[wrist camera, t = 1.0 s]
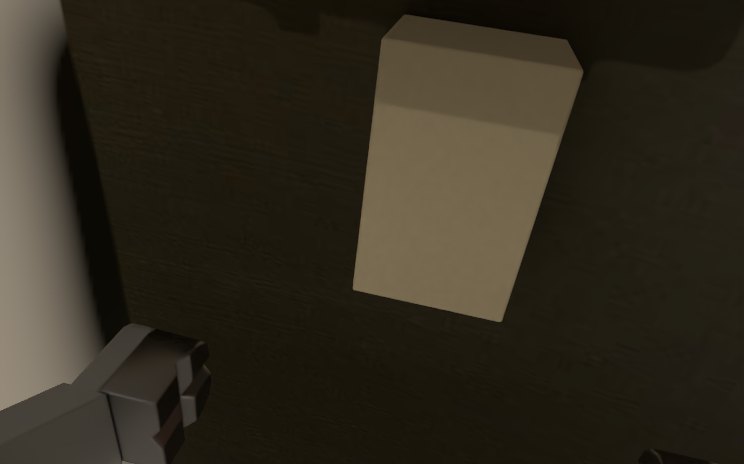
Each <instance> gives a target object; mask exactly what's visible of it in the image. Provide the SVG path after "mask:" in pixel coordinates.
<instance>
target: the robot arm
mask: <svg viewBox="0 0 744 464" xmlns="http://www.w3.org/2000/svg"><path fill="white" fill-rule="evenodd" d="M208 357H209V351H208V343H205V342H203V341H199V340H196V339H192V338H188V337H185V336H181V335H177V334H173V333H170V332H166V331H162V330H158V329H154V328H150V327H146V326H142V325H138V324H134V323H131V324H129V325H127V326H125V327H124V328H123V329H122V330H121V331H120V332H119V333H118V334H117V335H116V336H115V337H114V338H113V339H112V341H111V342H110V343H109V344H108V345H107V346H106V347H105V348H104V349H103V350H102V351H101V352H100V354H99V355H98V356H97V357H96V358H95V359H94V360H93V361H92V362H91V363H90V364H89V366H88V367H87V368H86V369H85V370H84V371H83V372H82V373H81V374H80V375H79V376H78V377H77V379H76V380H75V381H74V382H73V383H72V384H71V385H70V384H66V383H62V384H60V385H58V386H55V387H53V388H51V389H49V390H46V391H44V392H42V393H40V394H37V395H35V396H33V397H31V398H28V399H27V400H24V401H22V402H20V403H17V404H15V405H13V406H10V407H9V408H6V409H4V410H1V411H0V464H122V461H126V462H130V463H135V464H171V462H172V461H173V459H174V457H175V456H176V454H177V452H178V451H179V449H180V447H181V446H182V444H183V442H184V441H185V437H184V429H183V428H184V427H186V426H188V425H190V424H191V423H193V422H195V421H197V419H198V417H199V415H200V414H201V412H202V410H203V409H204V406H205V403H206V401H207V398H208V395H209V392H210V385H211V374H210V371H209V370H208V369H207V368H206V366H205V365H204V363H205V362H206V360H207V359H208ZM638 461H639V464H717V463H710V462H709V461H706V460H701V459H697V458H693V457H688V456H684V455H679V454H675V453H671V452H666V451H662V450H657V449H653V448H650V449H648V450H646V451H644V452H643V454H642V455H641V457H640V458H639V460H638Z"/></svg>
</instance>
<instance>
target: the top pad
mask: <svg viewBox="0 0 744 464" xmlns="http://www.w3.org/2000/svg"><path fill="white" fill-rule="evenodd" d="M582 76H583V69H582V67H581V65H580V64H579V62H578V60H577V58H576V56H575V54H574V52H573V50H572V48H571V47H570V45H569V43H568V41H567V40H565V39H558V38H552V37H546V36H539V35H533V34H527V33H520V32H514V31H507V30H501V29H495V28H488V27H482V26H476V25H469V24H463V23H457V22H450V21H444V20H438V19H431V18H425V17H419V16H412V15H403V16H402V18H401V19H400V20H399V21H398V22H397V23H396V24H395V25H394V26H393V27H392V28H391V29H390V31H389V32H388V33H387V34H386V35H385V36H384V37H383V38H382V41H381V50H380V58H379V67H378V75H377V84H376V92H375V101H374V110H373V118H372V127H371V135H370V144H369V153H368V161H367V170H366V178H365V187H364V196H363V204H362V213H361V221H360V230H359V239H358V247H357V256H356V264H355V273H354V281H353V289H354V290H357V291H361V292H366V293H371V294H375V295H380V296H384V297H389V298H393V299H398V300H402V301H407V302H411V303H416V304H420V305H425V306H429V307H434V308H438V309H443V310H447V311H452V312H456V313H461V314H465V315H470V316H474V317H479V318H483V319H488V320H493V321H497V322H501V321H502V319H503V316H504V313H505V310H506V307H507V304H508V301H509V298H510V295H511V292H512V289H513V286H514V282H515V279H516V276H517V273H518V270H519V267H520V264H521V261H522V258H523V255H524V252H525V249H526V246H527V243H528V240H529V237H530V234H531V231H532V228H533V225H534V222H535V219H536V216H537V213H538V210H539V206H540V203H541V200H542V197H543V194H544V191H545V188H546V185H547V182H548V179H549V176H550V173H551V170H552V167H553V164H554V161H555V158H556V155H557V152H558V149H559V146H560V143H561V140H562V137H563V134H564V130H565V127H566V124H567V121H568V118H569V115H570V112H571V109H572V106H573V103H574V100H575V97H576V94H577V91H578V88H579V85H580V82H581V79H582Z"/></svg>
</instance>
